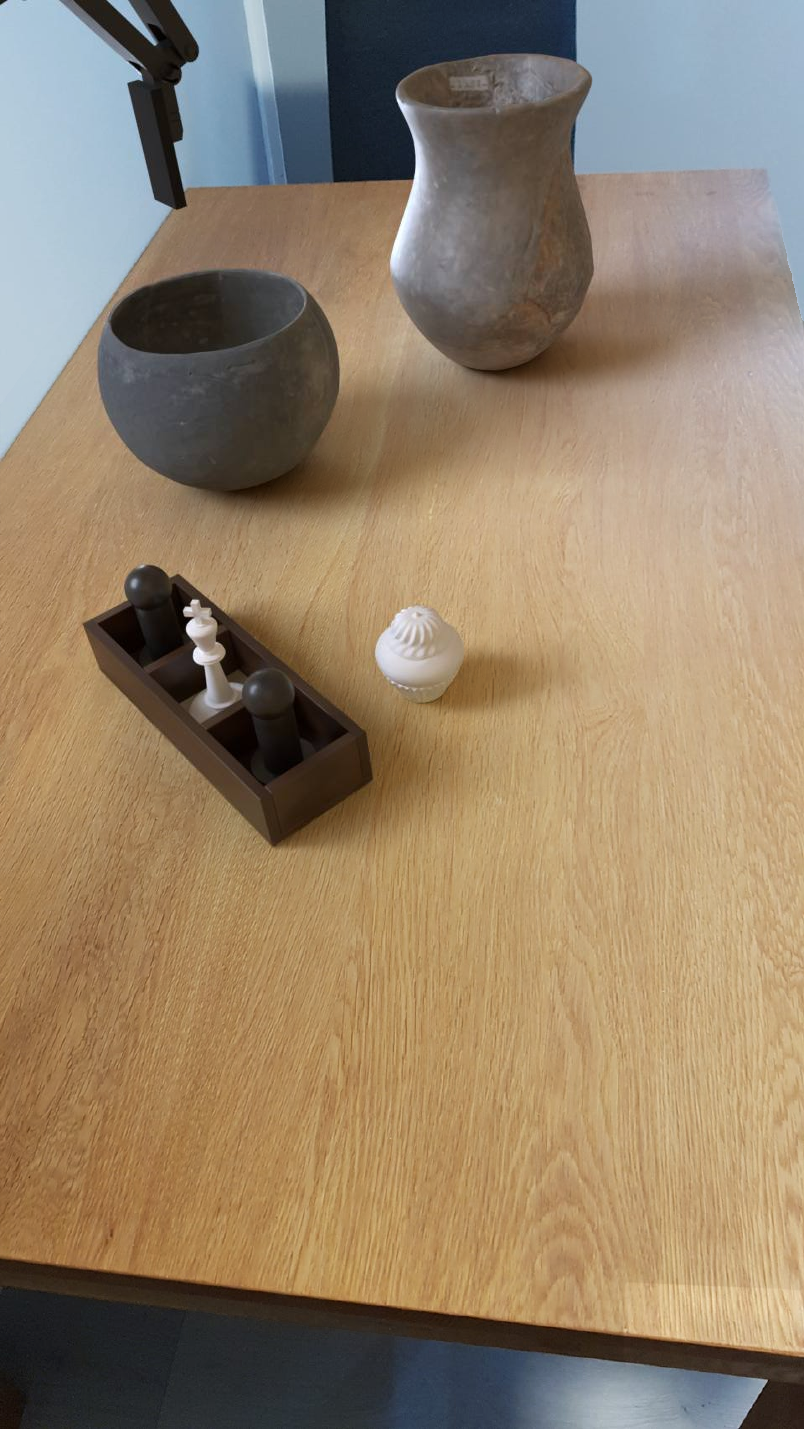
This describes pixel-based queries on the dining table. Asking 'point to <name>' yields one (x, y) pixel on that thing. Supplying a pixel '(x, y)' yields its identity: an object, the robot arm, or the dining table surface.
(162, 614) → the ebony piece
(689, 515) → the dining table surface
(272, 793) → the rack
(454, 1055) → the dining table surface
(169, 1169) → the dining table surface
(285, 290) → the bowl
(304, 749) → the ebony piece
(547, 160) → the vase
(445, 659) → the muffin
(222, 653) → the chess piece
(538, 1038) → the dining table surface
